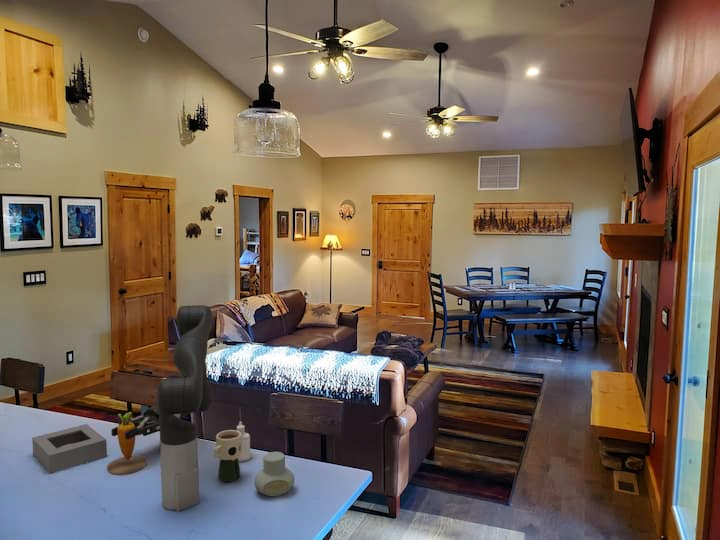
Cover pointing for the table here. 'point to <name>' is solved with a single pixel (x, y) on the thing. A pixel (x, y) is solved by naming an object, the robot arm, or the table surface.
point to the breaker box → (69, 448)
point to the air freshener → (274, 475)
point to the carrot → (125, 444)
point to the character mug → (228, 454)
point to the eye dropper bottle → (244, 443)
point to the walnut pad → (127, 465)
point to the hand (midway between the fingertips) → (119, 434)
